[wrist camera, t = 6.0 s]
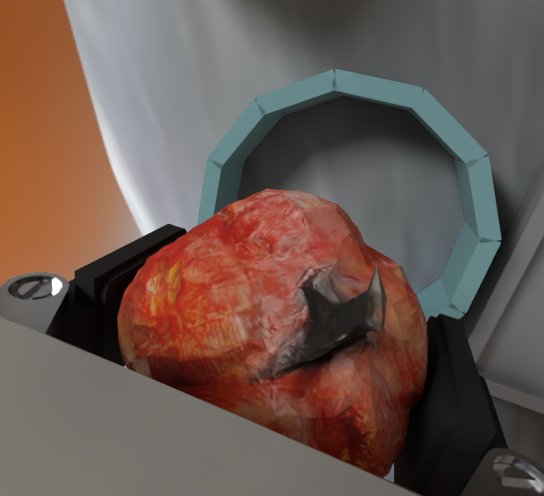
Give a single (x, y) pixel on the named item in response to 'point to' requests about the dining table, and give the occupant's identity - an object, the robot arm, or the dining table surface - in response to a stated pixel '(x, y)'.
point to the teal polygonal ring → (433, 117)
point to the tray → (514, 310)
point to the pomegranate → (284, 326)
